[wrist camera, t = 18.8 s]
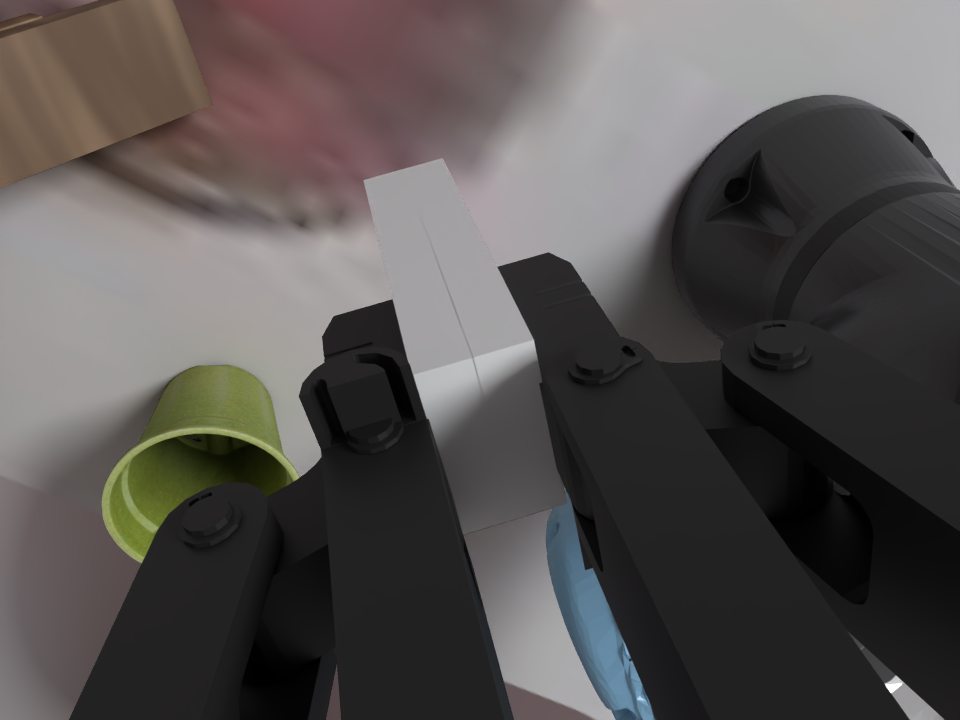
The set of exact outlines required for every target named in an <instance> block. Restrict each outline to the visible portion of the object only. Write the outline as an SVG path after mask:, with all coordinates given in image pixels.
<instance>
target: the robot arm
mask: <svg viewBox="0 0 960 720" xmlns="http://www.w3.org/2000/svg"><path fill="white" fill-rule="evenodd" d="M364 184H365V188H366V192H367V196H368V201H369V205H370V209H371V213H372V217H373V221H374V225H375V229H376V233H377V237H378V241H379V245H380V249H381V254H382V258H383V262H384V266H385V270H386V274H387V278H388V282H389V286H390V290H391V294H392V298H393V299H392V300H389V301H385V302H382V303H378V304H375V305H371V306H368V307H364V308H361V309H357V310H354V311H350V312H347V313H343V314H340V315H336V316H334V317H333V318H332V320H331V322H330V324H329V325H328V327H327V329H326V331H325V333H324V334H323V336H322V339H323V351H324V357H325V359H324V362H325V363H323V364H322V365H320V366H319V367H317V368H316V369H314V370H313V371H312V373H311V374H310V375H309V376H308V377H307V378H306V380H305V381H304V382H303V383H302V387H301V391H300V394H299V398H300V400H301V403H302V405H303V407H304V410H305V412H306V415H307V417H308V420H309V422H310V424H311V427H312V429H313V432H314V434H315V436H316V439H317V441H318V444H319V446H320V448H321V455H322V457H321V458H320V460H319V461H318V462H317V464H316V465H315V466H313V467H312V468H311V469H310V470H309V471H308V472H307V473H306V474H304V475H303V476H301V477H300V478H298V479H297V480H295V481H294V482H292V483H291V484H289V485H287V486H285V487H283V488H281V489H280V490H278V491H276V492H274V493H272V494H270V495H269V496H267V497H265V495H264V493H263V492H262V490H261V489H260V488H257V487H255V486H253V485H251V484H248V483H224V484H220V485H216V486H213V487H209V488H206V489H204V490H202V491H200V492H198V493H196V494H195V495H193V496H191V497H189V498H187V499H185V500H184V501H183V502H182V503H181V504H180V505H178V506H177V507H176V508H175V509H174V510H172V511H171V512H170V513H169V514H168V515H167V517H166V518H165V520H164V521H163V523H162V524H161V526H160V527H159V528H158V530H157V532H156V534H155V536H154V538H153V540H152V543H151V545H150V547H149V549H148V551H147V553H146V555H145V558H144V560H143V562H142V564H141V566H140V568H139V570H138V573H137V575H136V577H135V579H134V581H133V583H132V585H131V588H130V590H129V592H128V594H127V596H126V598H125V601H124V603H123V605H122V607H121V609H120V611H119V613H118V616H117V618H116V620H115V622H114V624H113V626H112V628H111V631H110V633H109V635H108V637H107V639H106V641H105V644H104V646H103V648H102V650H101V652H100V654H99V656H98V659H97V661H96V663H95V665H94V667H93V669H92V671H91V674H90V676H89V678H88V680H87V682H86V684H85V686H84V689H83V691H82V693H81V695H80V697H79V699H78V702H77V704H76V706H75V708H74V710H73V712H72V714H71V717H70V719H69V720H326V716H327V710H328V706H329V700H330V695H331V690H332V685H333V680H334V674H335V669H336V665H337V668H338V681H339V694H340V708H341V720H514V718H513V715H512V711H511V707H510V704H509V700H508V696H507V692H506V689H505V685H504V681H503V677H502V674H501V670H500V666H499V662H498V659H497V655H496V651H495V648H494V644H493V640H492V636H491V633H490V629H489V625H488V621H487V618H486V614H485V610H484V607H483V603H482V599H481V595H480V592H479V588H478V584H477V581H476V577H475V573H474V569H473V566H472V562H471V559H470V556H469V553H468V549H467V546H466V543H465V540H464V536H463V535H465V534H468V533H472V532H475V531H478V530H482V529H485V528H488V527H491V526H495V525H498V524H501V523H505V522H508V521H511V520H515V519H518V518H521V517H524V516H528V515H531V514H534V513H538V512H541V511H544V510H547V509H551V508H553V509H552V511H551V513H550V516H549V519H548V522H547V529H546V549H547V560H548V566H549V571H550V575H551V580H552V584H553V588H554V592H555V595H556V598H557V601H558V604H559V608H560V610H561V613H562V616H563V619H564V622H565V625H566V627H567V630H568V632H569V635H570V637H571V640H572V642H573V645H574V647H575V649H576V652H577V654H578V656H579V658H580V660H581V662H582V665H583V667H584V669H585V671H586V673H587V675H588V677H589V679H590V681H591V683H592V685H593V687H594V689H595V691H596V692H597V694H598V696H599V698H600V699H601V701H602V702H603V704H604V705H605V706H606V708H608V709H610V710H612V713H613V715H614V717H615V719H616V720H960V191H959V190H957V189H956V187H955V186H954V184H953V183H952V181H951V180H950V178H949V177H948V176H947V174H946V173H945V171H944V170H943V168H942V167H941V165H940V164H939V163H938V162H937V161H936V159H934V158H933V156H932V154H931V152H930V150H929V149H928V147H927V145H926V144H925V143H924V141H923V140H922V139H921V137H920V136H919V135H918V134H917V133H916V132H915V131H914V130H913V129H912V128H911V127H910V126H909V125H908V124H906V123H905V122H904V121H903V120H901V119H900V118H898V117H897V116H895V115H893V114H891V113H889V112H887V111H885V110H883V109H881V108H878V107H876V106H874V105H872V104H870V103H867V102H865V101H862V100H859V99H856V98H852V97H847V96H839V95H820V96H812V97H805V98H801V99H797V100H794V101H790V102H787V103H785V104H782V105H779V106H777V107H775V108H773V109H770V110H768V111H766V112H764V113H763V114H761V115H759V116H757V117H756V118H754V119H753V120H751V121H749V122H748V123H746V124H745V125H744V126H742V127H741V128H740V129H738V130H737V131H736V132H735V133H733V134H732V135H731V136H730V137H729V138H728V139H727V140H726V141H724V142H723V143H722V144H721V145H720V146H719V147H718V149H717V150H716V151H715V152H714V153H713V154H712V155H711V156H710V158H709V159H708V160H707V161H706V163H705V164H704V165H703V167H702V168H701V169H700V171H699V172H698V174H697V175H696V177H695V178H694V180H693V182H692V184H691V185H690V187H689V189H688V191H687V193H686V195H685V197H684V200H683V202H682V204H681V207H680V210H679V213H678V216H677V219H676V223H675V228H674V233H673V241H672V264H673V271H674V276H675V280H676V283H677V286H678V288H679V291H680V293H681V295H682V297H683V299H684V300H685V302H686V303H687V305H688V306H689V308H690V309H691V310H692V311H693V312H694V314H695V315H696V316H697V317H698V318H699V319H700V320H701V322H702V323H703V324H704V325H705V326H706V327H707V328H708V329H709V330H710V331H711V332H712V333H713V334H715V335H716V336H717V337H718V338H720V339H721V340H723V341H724V342H725V343H724V345H723V347H722V348H721V360H720V361H707V362H695V363H668V362H661V361H656V360H655V358H654V357H653V355H652V354H651V353H650V352H649V351H648V350H647V349H646V348H645V347H643V346H642V345H641V344H640V343H638V342H635V341H632V340H629V339H626V338H623V337H620V335H619V334H618V332H617V331H616V329H615V328H614V326H613V325H612V323H611V322H610V321H609V319H608V318H607V316H606V315H605V313H604V312H603V310H602V309H601V307H600V306H599V304H598V303H597V301H596V300H595V298H594V297H593V295H592V296H591V293H590V291H589V289H588V288H587V286H586V285H585V284H584V282H582V279H581V278H580V276H579V275H578V273H577V272H576V270H575V269H574V267H573V266H572V264H571V263H570V262H568V261H565V260H563V259H561V258H559V257H557V256H555V255H553V254H551V253H549V252H548V253H545V254H541V255H538V256H534V257H531V258H527V259H524V260H520V261H517V262H513V263H510V264H506V265H503V266H499V267H497V266H496V264H495V262H494V260H493V258H492V256H491V254H490V252H489V250H488V248H487V246H486V244H485V242H484V240H483V238H482V236H481V234H480V232H479V230H478V228H477V226H476V224H475V222H474V220H473V218H472V216H471V214H470V212H469V210H468V208H467V206H466V204H465V202H464V200H463V198H462V196H461V194H460V192H459V190H458V188H457V186H456V184H455V182H454V180H453V178H452V176H451V174H450V172H449V170H448V168H447V166H446V164H445V162H444V160H443V158H442V159H438V160H434V161H431V162H427V163H424V164H420V165H416V166H413V167H409V168H406V169H402V170H398V171H395V172H391V173H388V174H384V175H380V176H377V177H373V178H370V179H366V180H364ZM563 484H564V486H565V489H566V491H567V492H566V493H565V491H564V486H563Z"/></svg>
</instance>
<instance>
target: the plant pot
mask: <svg viewBox="0 0 960 720" xmlns="http://www.w3.org/2000/svg"><path fill="white" fill-rule="evenodd" d="M188 434H192V435H194V436H195V437H197V438H199V439H201V441H195V440H192V439H191V438H189V437H187V436H186V435H188ZM298 478H300V477H299V475H298V473H297V471H296V470H295V468H294V466H293V465H292V464H291V462H290V461H289V460H288V459H287V458H286V456H285V455H284V454H283V451H282V446H281V442H280V437H279V432H278V428H277V423H276V418H275V413H274V409H273V404H272V400H271V397H270V395H269V393H268V391H267V389H266V388H265V387H264V385H263V384H262V383H261V382H260V381H259V380H258V379H257V378H256V377H255V376H253V375H252V374H250V373H249V372H247V371H245V370H243V369H240V368H238V367H234V366H230V365H222V366H196V367H193V368H190V369H188V370H186V371H184V372H182V373H181V374H179V375H178V376H177V377H175V378H174V379H173V380H172V381H171V382H170V383H169V385H168V386H167V387H166V389H165V391H164V393H163V395H162V397H161V399H160V400H159V403H158V405H157V407H156V409H155V411H154V413H153V415H152V418H151V420H150V422H149V424H148V426H147V428H146V430H145V432H144V433H143V435H142V437H141V439H140V441H139V443H138V444H136V445H135V446H133V447H132V448H131V449H129V450H128V451H127V452H126V453H125V454H124V455H123V456H122V457H121V458H120V460H119V461H118V462H117V463H116V465H115V466H114V467H113V469H112V471H111V472H110V474H109V476H108V478H107V480H106V483H105V486H104V489H103V493H102V500H101V507H102V515H103V520H104V523H105V526H106V528H107V530H108V532H109V534H110V536H111V537H112V538H113V540H114V541H115V542H116V544H117V545H118V546H119V547H120V548H121V549H122V550H123V551H124V552H125V553H127V554H128V555H129V556H130V557H131V558H133V559H135V560H136V561H138V562H140V563H141V564H142V562H143V560H144V558H145V555H146V553H147V551H148V549H149V547H150V545H151V543H152V540H153V538H154V536H155V534H156V532H157V530H158V528H159V527H160V526H161V524H162V523H163V521H164V520H165V518H166V517H167V515H168V514H169V513H170V512H171V511H172V510H174V509H175V508H176V507H177V506H178V505H180V504H181V503H182V502H183V501H184V500H185V499H187V498H189V497H191V496H193V495H195V494H196V493H198V492H200V491H202V490H204V489H206V488H209V487H213V486H216V485H220V484H224V483H248V484H251V485H253V486H255V487H257V488H260V489H261V490H262V492H263V493H264V495H265V497H267V496H269V495H270V494H272V493H274V492H276V491H278V490H280V489H281V488H283V487H285V486H287V485H289V484H291V483H292V482H294V481H295V480H297V479H298Z"/></svg>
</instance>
